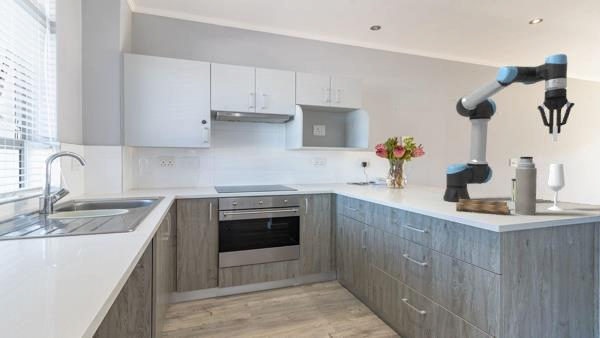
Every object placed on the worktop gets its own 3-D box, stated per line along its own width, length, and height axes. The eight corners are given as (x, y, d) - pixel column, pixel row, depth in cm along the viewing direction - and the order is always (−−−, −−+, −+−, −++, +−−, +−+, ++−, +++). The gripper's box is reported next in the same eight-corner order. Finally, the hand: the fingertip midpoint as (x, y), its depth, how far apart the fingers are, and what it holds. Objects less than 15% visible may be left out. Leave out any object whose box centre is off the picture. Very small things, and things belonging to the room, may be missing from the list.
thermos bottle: (511, 212, 144) (512, 156, 143) (528, 212, 143) (529, 156, 142) (521, 215, 136) (523, 156, 135) (539, 215, 135) (541, 156, 134)
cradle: (506, 209, 151) (506, 202, 151) (508, 215, 136) (508, 207, 136) (459, 206, 163) (459, 199, 163) (456, 211, 148) (456, 203, 148)
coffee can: (531, 201, 176) (531, 178, 175) (533, 203, 167) (534, 180, 166) (510, 200, 181) (510, 178, 180) (511, 202, 172) (512, 179, 172)
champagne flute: (560, 208, 151) (561, 163, 150) (567, 211, 145) (568, 163, 144) (544, 208, 153) (545, 163, 152) (550, 210, 147) (551, 164, 146)
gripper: (538, 90, 132) (537, 141, 133) (576, 85, 125) (575, 139, 126) (536, 93, 138) (535, 141, 139) (572, 89, 131) (571, 140, 132)
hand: (554, 140), depth 132 cm, fingers closed
